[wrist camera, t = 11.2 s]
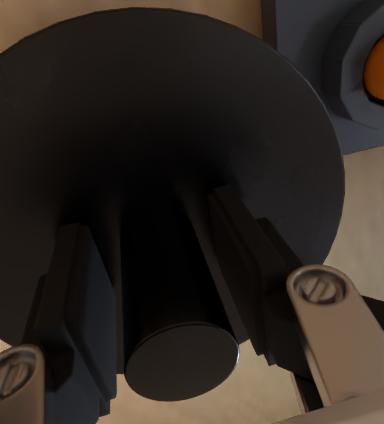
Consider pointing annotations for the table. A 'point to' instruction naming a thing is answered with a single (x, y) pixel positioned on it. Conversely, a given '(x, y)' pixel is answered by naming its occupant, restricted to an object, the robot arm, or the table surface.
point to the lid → (158, 176)
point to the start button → (375, 71)
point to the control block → (333, 59)
